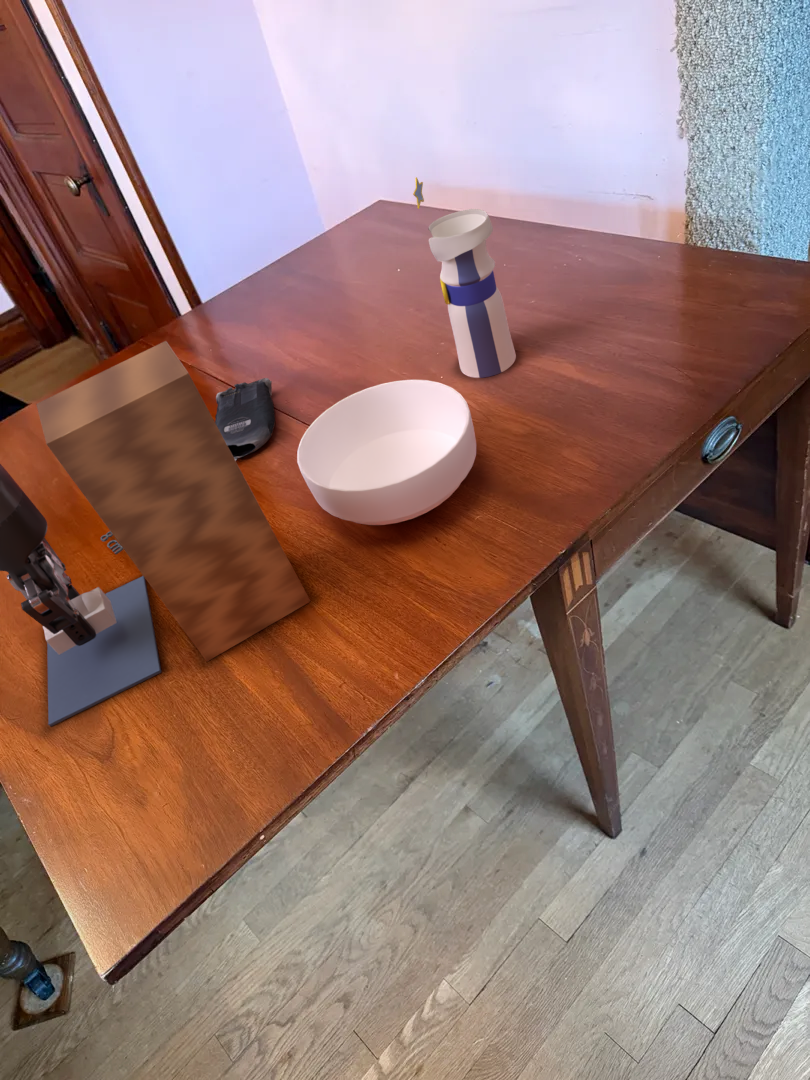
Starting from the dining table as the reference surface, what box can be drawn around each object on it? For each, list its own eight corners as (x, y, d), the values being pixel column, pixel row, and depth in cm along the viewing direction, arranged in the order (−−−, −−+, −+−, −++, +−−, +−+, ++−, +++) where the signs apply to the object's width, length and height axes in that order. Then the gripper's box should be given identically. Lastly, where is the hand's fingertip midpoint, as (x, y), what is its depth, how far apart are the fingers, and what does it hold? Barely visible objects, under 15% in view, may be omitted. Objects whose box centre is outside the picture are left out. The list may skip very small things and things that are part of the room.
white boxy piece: (58, 655, 77) (37, 633, 75) (54, 631, 80) (33, 610, 78) (117, 622, 78) (98, 600, 76) (110, 600, 81) (92, 578, 79)
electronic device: (219, 421, 112) (210, 467, 100) (209, 387, 109) (197, 430, 97) (280, 409, 113) (278, 454, 100) (271, 375, 110) (268, 416, 97)
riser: (206, 661, 75) (46, 444, 57) (187, 615, 81) (35, 403, 63) (310, 601, 78) (188, 373, 59) (284, 560, 83) (165, 340, 65)
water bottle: (459, 386, 99) (411, 197, 83) (455, 354, 105) (409, 172, 89) (521, 371, 98) (484, 176, 81) (513, 339, 104) (477, 152, 87)
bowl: (516, 495, 81) (503, 433, 75) (354, 577, 78) (327, 519, 73) (441, 416, 95) (424, 359, 90) (302, 483, 93) (276, 429, 87)
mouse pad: (161, 672, 76) (159, 670, 76) (50, 726, 75) (48, 724, 74) (145, 577, 88) (143, 575, 88) (48, 623, 87) (46, 621, 86)
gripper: (-60, 491, 72) (44, 605, 84) (-59, 572, 62) (59, 689, 73) (14, 455, 74) (106, 572, 85) (27, 528, 63) (129, 650, 75)
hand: (84, 626), depth 79 cm, fingers closed on white boxy piece, 4 cm apart
